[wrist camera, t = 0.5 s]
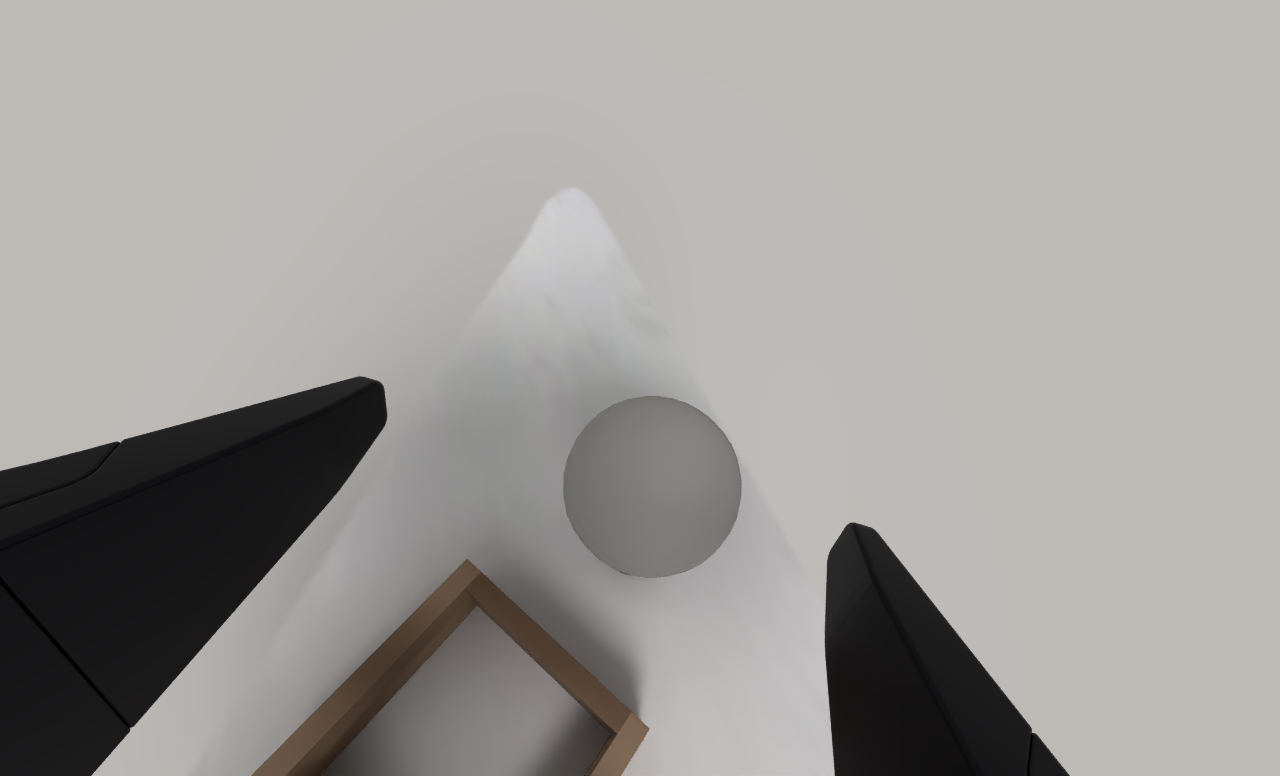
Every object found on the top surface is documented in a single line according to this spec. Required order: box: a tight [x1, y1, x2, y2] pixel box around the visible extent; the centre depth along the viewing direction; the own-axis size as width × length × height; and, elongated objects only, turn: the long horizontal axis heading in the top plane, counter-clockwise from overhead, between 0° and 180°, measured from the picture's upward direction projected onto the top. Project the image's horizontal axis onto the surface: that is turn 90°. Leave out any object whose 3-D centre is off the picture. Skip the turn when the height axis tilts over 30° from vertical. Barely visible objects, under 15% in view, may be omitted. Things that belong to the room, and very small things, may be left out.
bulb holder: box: [251, 559, 649, 776], centre depth 17 cm, size 9×9×3 cm
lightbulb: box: [563, 396, 741, 578], centre depth 19 cm, size 6×6×11 cm
